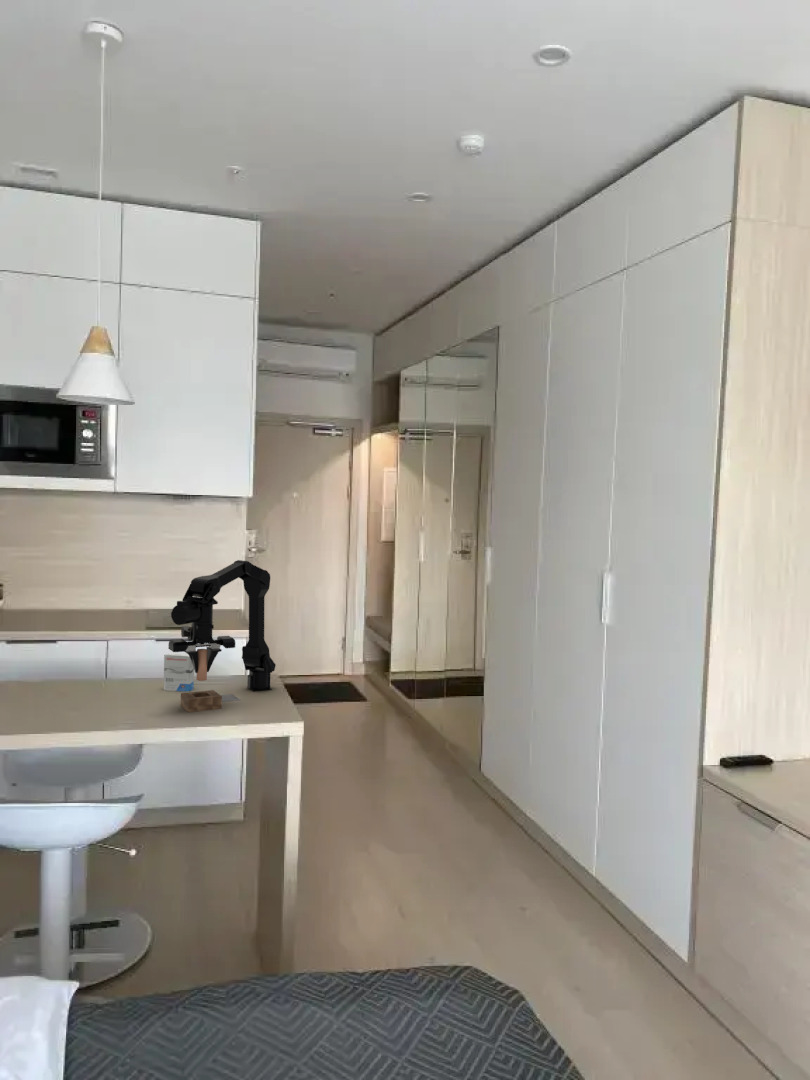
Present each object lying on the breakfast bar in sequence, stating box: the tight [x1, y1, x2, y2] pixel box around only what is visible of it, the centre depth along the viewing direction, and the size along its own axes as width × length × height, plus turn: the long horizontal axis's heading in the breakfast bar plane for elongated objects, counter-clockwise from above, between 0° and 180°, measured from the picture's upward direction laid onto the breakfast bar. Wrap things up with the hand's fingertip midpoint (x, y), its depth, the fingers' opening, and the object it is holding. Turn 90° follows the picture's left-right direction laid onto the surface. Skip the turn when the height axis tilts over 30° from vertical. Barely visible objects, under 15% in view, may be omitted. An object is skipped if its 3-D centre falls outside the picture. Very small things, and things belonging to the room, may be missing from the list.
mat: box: [220, 693, 241, 703], centre depth 261 cm, size 8×8×1 cm
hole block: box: [180, 689, 223, 713], centre depth 250 cm, size 10×8×4 cm
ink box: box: [163, 651, 195, 692], centre depth 269 cm, size 8×5×12 cm, turn 84°
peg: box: [196, 648, 208, 682], centre depth 249 cm, size 3×3×9 cm
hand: (201, 672), depth 249 cm, fingers closed on peg, 3 cm apart
